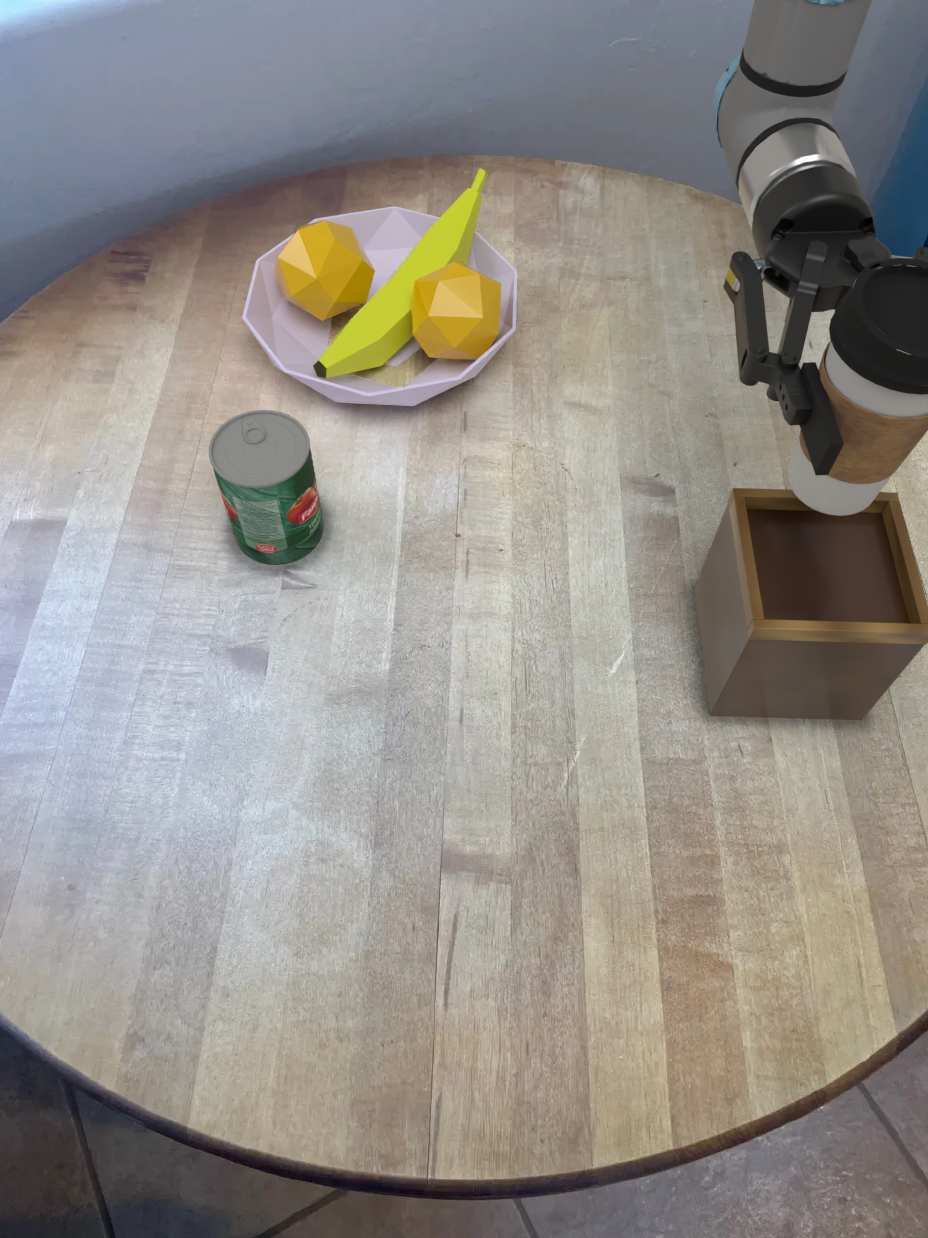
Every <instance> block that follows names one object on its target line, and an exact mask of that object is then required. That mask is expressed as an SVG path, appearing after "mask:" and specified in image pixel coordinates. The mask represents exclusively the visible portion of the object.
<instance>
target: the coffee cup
mask: <svg viewBox="0 0 928 1238" xmlns="http://www.w3.org/2000/svg"><path fill="white" fill-rule="evenodd" d="M828 327H829V328H828V333H829V340H830V341H829V342H828V343H827V344H826V347H825V348H824V350H823V353H822V356H821V359H820V363H819V366H818V370H819V373H820V379H821V382H822V384H823V387H824V389H825V390H826V393H827V396H828V399H829V402H830V405H831V408H832V410H833V413H834V416H835V419H836V422H837V425H838V428H839V431H840V433H841V436H842V439H843V442H844V445H843V447H842V449H841V451H840V453H839V455H838V457H837V459H836V461H835V463H834V465H833V467H832V468H831V470H830V472H829V474H828V475H817V476H816V475H815V472H814V469H813V466H812V463H811V460H810V457H809V453H808V450H807V447H806V444H805V441H804V438H803V435H802V432H801V429H800V430H799V435H798V438H797V440H796V441H797V442H796V444H795V447H794V450H793V452H792V456H791V459H790V462H789V466H788V469H787V480H788V484H789V487H790V488H791V489H790V490H793V492H794V494H795V495H796V496H797V497H798V498H799V499H800V500H801V501H802V502H803V503H804V504H806V505H807V506H809V507H811V508H812V509H814V510H817V511H819V512H821V513H825V514H829V515H837V516H844V515H851V514H856V513H858V512H860V511H862V510H864V509H865V508H867V507H868V506H869V505H870V504H871V503H872V502H873V500H874V499H875V498H876V496H877V495H878V494H879V492H882V490H883V488H884V487H885V485H886V484H887V483H888V482H889V480H890V479H891V478H892V476H893V475H894V474H895V473H896V472H897V470H898V469H899V468H900V467H901V465H902V464H903V463H904V461H905V460H906V459H907V458H908V456H909V455H910V454H911V453H912V451H913V450H914V449H915V447H916V446H917V445H918V443H919V442H920V441H921V440H922V438H923V437H924V436H925V435H926V434H927V432H928V262H925V261H922V260H917V259H911V258H893V259H886V260H880V261H875V262H872V263H870V264H869V265H868V266H866V267H865V268H864V269H863V271H862V272H861V273H860V274H859V275H858V277H857V278H856V279H855V281H854V282H853V284H852V286H851V287H850V289H849V291H848V292H847V294H846V295H845V296H844V297H843V298H842V299H841V300H840V301H839V303H838V305H837V307H836V309H835V310H834V313H833V314H832V317H831V318H830V321H829V326H828Z"/></svg>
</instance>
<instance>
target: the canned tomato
mask: <svg viewBox="0 0 928 1238" xmlns="http://www.w3.org/2000/svg"><path fill="white" fill-rule="evenodd" d="M208 458H209V463H210V465H211V467H212V468H213V473H214V477H215V480H216V483H217V486H218V490H219V493H220V495H221V498H222V501H223V505H224V509H225V512H226V515H227V518H228V521H229V524H230V527H231V530H232V534H233V535H234V542H235V544H236V547H237V548H238V550H239V552H240V553H241V554H242V555H243V556H244V558H246V559H248V560H249V561H251V562H253V563H254V564H257V565H260V566H264V567H271V568H280V567H288V566H291V565H295V564H297V563H300V562H302V561H304V560H306V559H307V558H309V557H310V556H311V555H312V554H313V553H314V552H316V550H317V549H318V548H319V546H320V545H321V543H322V541H323V539H324V536H325V531H326V526H325V520H324V516H323V509H322V504H321V498H320V493H319V488H318V487H319V486H318V483H317V482H318V481H317V477H316V472H315V466H314V460H313V453H312V450H311V441H310V437H309V434H308V432H307V430H306V428H305V427H304V425H303V424H302V423H300V422H299V420H298V419H296V418H295V417H293V416H291V415H289V414H287V413H284V412H281V411H277V410H271V409H257V410H251V411H245V412H242V413H240V414H237V415H235V416H232V417H231V418H229V419H228V420H226V421H224V422H223V423H222V424H221V425H220V426H219V427H218V428H217V430H216V431H215V432H214V433H213V435H212V436H211V439H210V441H209V445H208Z"/></svg>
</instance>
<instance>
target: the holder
mask: <svg viewBox="0 0 928 1238" xmlns="http://www.w3.org/2000/svg"><path fill="white" fill-rule="evenodd" d="M693 591H694V600H695V610H696V616H697V617H696V618H697V623H698V624H697V625H698V634H699V640H700V649H701V650H700V651H701V657H702V666H703V674H704V684H705V691H706V699H707V708H708V715H709V716H710V717H734V718H735V717H736V718H737V717H738V718H767V719H768V718H769V719H802V720H803V719H804V720H805V719H807V720H833V721H834V720H837V721H839V720H840V721H863V720H864V718H865V717H866V716H867V715H868V714H869V712H870V711H872V709H873V708H874V707H875V706H876V704H877V703H878V702H879V700H880V699H881V698H882V697H883V696H884V694H886V693H887V691H889V689H890V687H891V686H892V685H893V684H894V683H895V681H896V680H897V679H898V678H899V677H900V675H901V674H902V673H903V672H904V670H905V669H906V668H907V667H908V666H909V664H910V663H911V662H912V661H913V660H914V659H915V657H916V656H917V655H918V653H919V652H921V650H922V649H923V648H924V647H925V646H926V645H928V600H927V597H926V593H925V589H924V585H923V582H922V578H921V575H920V571H919V567H918V564H917V559H916V556H915V552H914V548H913V545H912V542H911V537H910V534H909V530H908V527H907V523H906V518H905V515H904V512H903V509H902V505H901V502H900V496H899V493H898V492H889V491H888V492H887V491H886V492H885V491H880V492H879V494H878V495H877V496H876V498H875V499H874V500H873V502H872V503H871V504H870V505H869V506H868V507H867V508H865V509H864V510H862V511H860V512H858V513H856V514H851V515H844V516H837V515H829V514H825V513H821V512H819V511H817V510H814V509H812V508H811V507H809V506H807V505H806V504H804V503H803V502H802V501H801V500H800V499H799V498H798V497H797V496H796V495H795V494H794V492H793V490H792V489H785V488H784V489H782V488H751V487H750V488H749V487H748V488H747V487H732V488H731V491H730V494H729V496H728V498H727V504H726V507H725V509H724V512H723V514H722V517H721V520H720V522H719V525H718V527H717V530H716V532H715V535H714V537H713V540H712V542H711V545H710V548H709V550H708V553H707V556H706V558H705V561H704V563H703V566H702V568H701V571H700V573H699V576H698V578H697V581H696V583H695V586H694V588H693Z"/></svg>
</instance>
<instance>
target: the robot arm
mask: <svg viewBox="0 0 928 1238" xmlns="http://www.w3.org/2000/svg"><path fill="white" fill-rule="evenodd" d="M872 3H873V0H754V1H753V5H752V6H753V7H752V10H751V13H750V19H749V23H748V27H747V32H746V36H745V41H744V44H743V47H742V50H741V53H740V54H739V55H738V56H737V57H735V58H734V59H733V60H732V61H731V63H730V64H729V65H728V67H727V68H726V69H725V70H724V72H723V74H722V75H721V77H720V78H719V79H718V81H717V83H716V86H715V89H714V93H713V99H712V112H713V116H714V129H715V131H716V133H717V137H716V138H717V140H718V143H719V146H720V148H721V150H722V152H723V154H724V157H725V161H726V163H727V165H728V169H729V172H730V174H731V176H732V179H733V182H734V185H735V188H736V190H737V193H738V195H739V199H740V202H741V206H742V208H743V212H744V214H745V216H746V220H747V222H748V226H749V228H750V231H751V235H752V239H753V243H754V245H755V249H756V252H757V255H758V258H754V259H753V258H752V257H751V255H750V254H749V253H748V252H745V251H743V250H742V251H740V250H739V251H735V252H733V253H732V255H731V258H730V261H729V264H728V268H727V270H726V275H725V278H724V282H723V286H722V287H723V290H724V291H725V293H726V295H727V296H728V298H729V300H730V301H731V303H732V306H733V314H734V315H733V317H734V329H735V339H736V340H735V341H736V354H737V355H736V356H737V366H738V379H739V382H741V383H742V384H743V385H744V386H747V387H754V386H756V385H758V383H762V384H765V385H766V384H767V385H768V387H767V390H766V396H767V398H768V399H769V400H771V401H773V402H778V403H779V406H780V410H781V412H782V416H783V419H784V421H785V422H786V423H787V425H788V426H799V429H800V430H801V432H802V435H803V438H804V441H805V444H806V447H807V450H808V453H809V457H810V460H811V463H812V466H813V469H814V472H815V475H816V476H817V475H828V474H829V472H830V470H831V468H832V467H833V465H834V463H835V461H836V459H837V457H838V455H839V453H840V451H841V449H842V447H843V445H844V442H843V439H842V436H841V433H840V431H839V428H838V425H837V422H836V419H835V416H834V413H833V410H832V408H831V405H830V402H829V399H828V396H827V393H826V390H825V389H824V387H823V384H822V382H821V379H820V373H819V370H818V369H819V366H818V365H817V362H816V361H813V362H812V361H811V362H810V361H809V362H802V365H801V366H800V362H801V360H802V356H803V352H804V348H805V344H806V339H807V336H808V335H807V334H808V330H809V325H810V322H811V317H812V313H824V312H828V311H832V310H833V311H835V309H836V307H837V305H838V303H839V301H840V300H841V299H842V298H843V297H844V296H845V295H846V294H847V292H848V291H849V289H850V287H851V286H852V284H853V282H854V281H855V279H856V278H857V277H858V275H859V274H860V273H861V272H862V271H863V269H864V268H865V267H866V266H868V265H869V264H870V263H872V262H875V261H880V260H886V259H893V258H911V259H917V260H922V261H925V262H928V247H926V246H922V247H921V246H920V247H917V249H916V250H915V252H914V253H913V255H912V257H911V256H905V255H903V256H901V255H894V254H892V253H891V251H890V249H889V248H888V247H887V246H886V245H885V244H883V243H882V242H881V241H880V240H879V239H878V238H877V234H876V233H877V232H876V225H875V219H874V213H873V210H872V209H871V206H870V204H869V202H868V199H867V197H866V195H865V193H864V191H863V189H862V185H861V184H860V182H859V181H858V175H857V173H856V171H855V169H854V167H853V165H852V162H851V160H850V158H849V156H848V153H847V152H846V150H845V147H844V145H843V143H842V142H841V139H840V136H839V134H838V132H837V131H836V128H835V126H834V123H833V114H834V110H835V107H836V104H837V102H838V99H839V96H840V93H841V90H842V87H843V84H844V82H845V79H846V76H847V72H848V70H849V66H850V63H851V61H852V58H853V55H854V52H855V49H856V47H857V45H858V41H859V39H860V37H861V33H862V31H863V28H864V26H865V22H866V19H867V17H868V14H869V11H870V9H871V6H872ZM764 282H765V283H766V284H767V285H769V286H771V288H773V289H775V290H776V291H778V292H779V293H780V294H782V295H783V296H785V297H786V298H788V299H789V301H788V306H787V309H786V314H785V318H784V326H783V329H782V332H781V337H780V341H779V344H778V350H777V352H772V351H770V343H769V335H768V325H767V316H766V305H765V295H764V286H763V283H764Z"/></svg>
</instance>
